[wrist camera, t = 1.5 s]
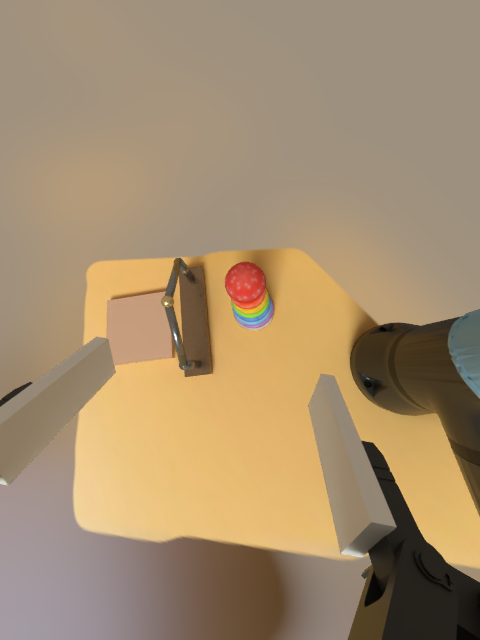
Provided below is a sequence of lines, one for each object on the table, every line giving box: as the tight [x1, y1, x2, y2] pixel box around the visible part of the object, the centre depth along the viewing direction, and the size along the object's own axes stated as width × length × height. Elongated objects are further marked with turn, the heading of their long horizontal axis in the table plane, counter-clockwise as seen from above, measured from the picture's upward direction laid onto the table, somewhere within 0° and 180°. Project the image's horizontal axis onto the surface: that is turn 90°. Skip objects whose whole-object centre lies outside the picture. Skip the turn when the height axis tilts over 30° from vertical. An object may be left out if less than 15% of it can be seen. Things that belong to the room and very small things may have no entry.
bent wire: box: [161, 258, 213, 377], centre depth 36 cm, size 22×5×14 cm, turn 8°
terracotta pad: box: [106, 291, 174, 366], centre depth 43 cm, size 14×14×1 cm
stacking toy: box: [225, 262, 274, 331], centre depth 32 cm, size 8×8×19 cm
